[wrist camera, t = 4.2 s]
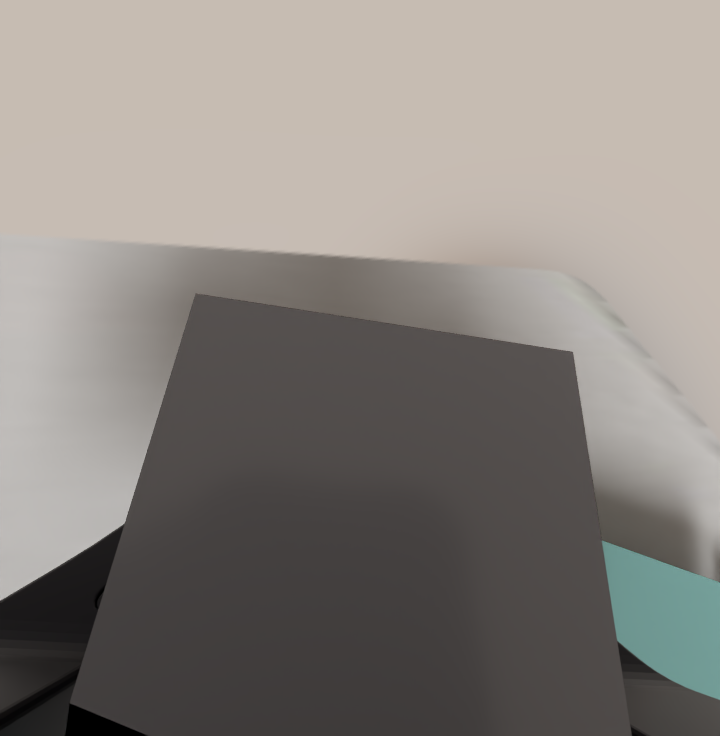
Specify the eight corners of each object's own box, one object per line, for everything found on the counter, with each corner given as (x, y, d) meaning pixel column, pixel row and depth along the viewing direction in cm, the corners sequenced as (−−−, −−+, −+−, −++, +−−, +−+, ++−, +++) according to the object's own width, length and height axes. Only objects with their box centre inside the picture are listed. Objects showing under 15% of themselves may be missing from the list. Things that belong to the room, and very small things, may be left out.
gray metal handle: (387, 619, 14) (1052, 1400, 2) (210, 608, 13) (-962, 1838, 1) (395, 447, 17) (682, 246, 4) (247, 429, 16) (65, 125, 3)
